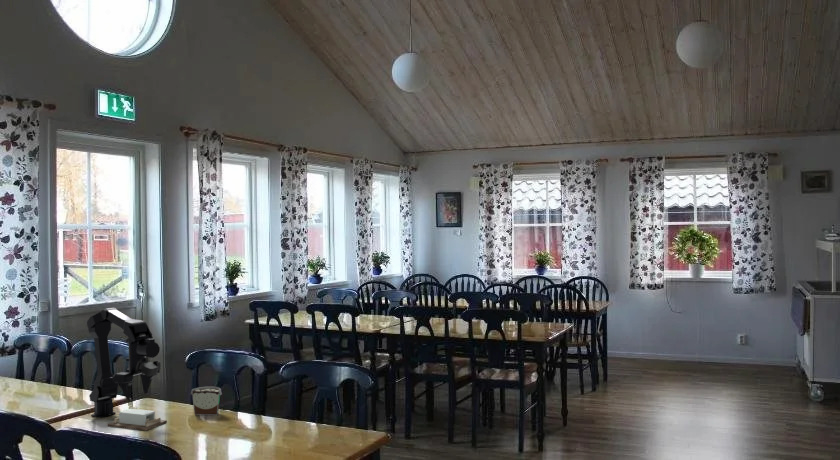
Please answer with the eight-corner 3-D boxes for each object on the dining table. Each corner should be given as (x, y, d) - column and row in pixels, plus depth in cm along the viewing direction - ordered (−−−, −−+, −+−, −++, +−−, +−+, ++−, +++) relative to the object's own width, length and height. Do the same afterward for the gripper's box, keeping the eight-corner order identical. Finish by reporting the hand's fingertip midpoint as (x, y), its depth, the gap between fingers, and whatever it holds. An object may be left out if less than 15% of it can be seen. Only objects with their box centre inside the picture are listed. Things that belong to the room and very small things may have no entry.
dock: (107, 426, 257) (107, 419, 257) (128, 418, 267) (128, 412, 267) (146, 430, 251) (146, 424, 251) (166, 422, 261) (166, 416, 261)
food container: (226, 411, 277) (226, 386, 277) (220, 415, 271) (220, 390, 271) (197, 410, 278) (197, 385, 278) (190, 414, 272) (190, 389, 272)
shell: (119, 422, 259) (119, 412, 259) (129, 418, 264) (129, 408, 264) (145, 425, 255) (144, 414, 255) (155, 421, 260) (155, 411, 260)
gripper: (136, 360, 247) (136, 404, 248) (170, 351, 265) (171, 391, 265) (111, 359, 251) (112, 401, 251) (147, 350, 269) (148, 389, 269)
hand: (137, 396), depth 259 cm, fingers open, 9 cm apart
